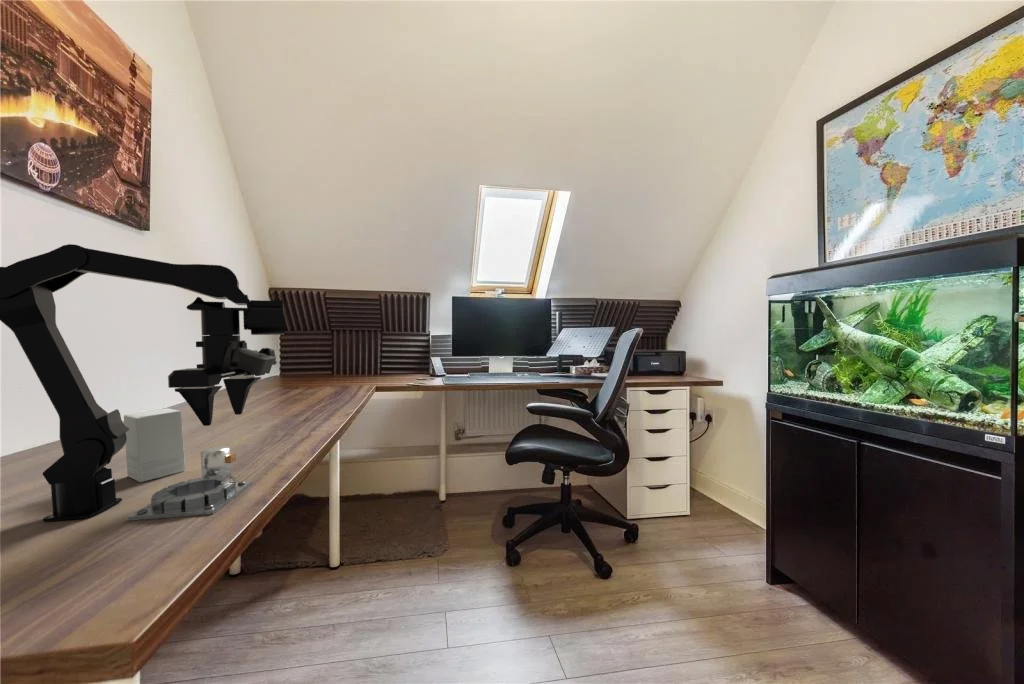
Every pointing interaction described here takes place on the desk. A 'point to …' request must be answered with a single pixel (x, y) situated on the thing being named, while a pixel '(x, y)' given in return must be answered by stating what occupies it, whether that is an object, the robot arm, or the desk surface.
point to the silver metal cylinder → (217, 461)
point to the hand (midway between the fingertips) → (223, 419)
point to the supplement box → (154, 444)
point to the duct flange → (192, 498)
